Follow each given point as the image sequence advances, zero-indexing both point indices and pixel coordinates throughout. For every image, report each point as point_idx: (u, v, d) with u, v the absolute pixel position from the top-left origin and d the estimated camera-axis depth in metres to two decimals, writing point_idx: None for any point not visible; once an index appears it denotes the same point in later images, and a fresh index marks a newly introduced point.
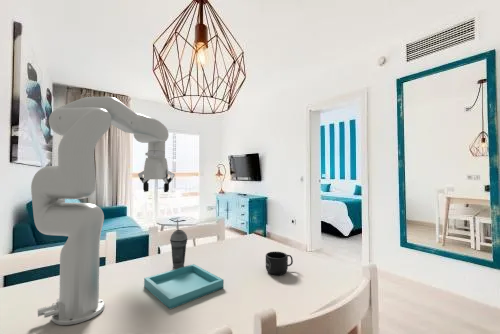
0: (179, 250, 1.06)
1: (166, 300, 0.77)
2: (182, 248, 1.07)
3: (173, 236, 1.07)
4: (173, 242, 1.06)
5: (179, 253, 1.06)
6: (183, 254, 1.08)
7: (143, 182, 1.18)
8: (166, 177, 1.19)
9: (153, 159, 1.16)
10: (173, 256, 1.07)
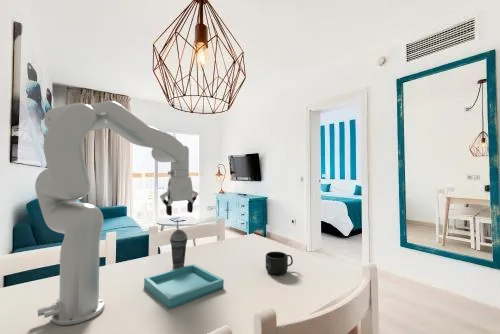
0: (179, 250, 1.06)
1: (166, 300, 0.77)
2: (182, 248, 1.07)
3: (173, 236, 1.07)
4: (173, 242, 1.06)
5: (179, 253, 1.06)
6: (183, 254, 1.08)
7: (169, 205, 1.05)
8: None
9: (182, 179, 1.07)
10: (173, 256, 1.07)
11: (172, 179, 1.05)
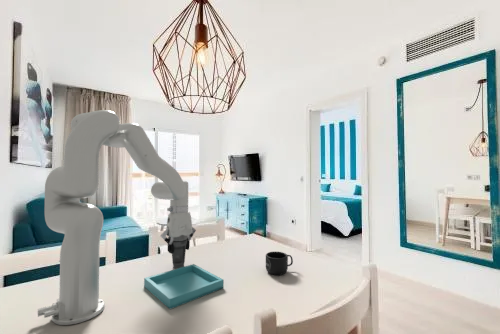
0: (179, 250, 1.06)
1: (166, 300, 0.77)
2: (182, 248, 1.07)
3: None
4: (173, 242, 1.06)
5: (179, 253, 1.06)
6: (183, 254, 1.08)
7: (170, 243, 1.05)
8: None
9: (181, 215, 1.07)
10: (173, 256, 1.07)
11: (171, 216, 1.05)
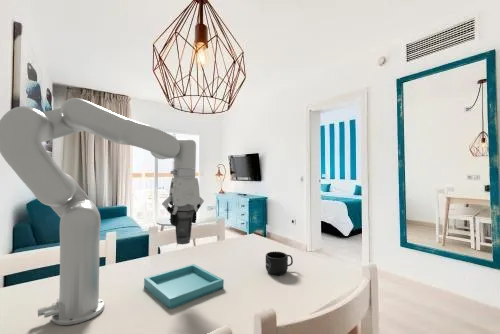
0: (184, 222, 0.88)
1: (166, 300, 0.77)
2: (188, 220, 0.88)
3: None
4: (177, 212, 0.87)
5: (184, 226, 0.88)
6: (189, 227, 0.89)
7: (174, 213, 0.86)
8: None
9: (188, 180, 0.89)
10: (177, 229, 0.88)
11: (176, 180, 0.86)
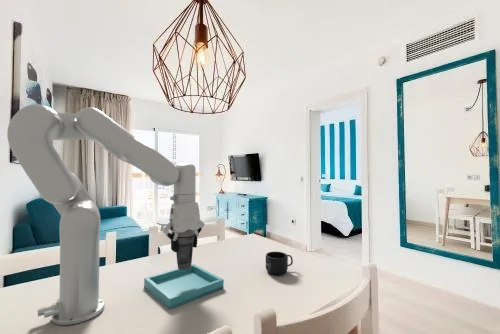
0: (185, 248, 0.87)
1: (166, 300, 0.77)
2: (188, 246, 0.88)
3: None
4: (178, 238, 0.87)
5: (185, 252, 0.87)
6: (190, 253, 0.88)
7: (174, 239, 0.86)
8: None
9: (188, 205, 0.88)
10: (178, 255, 0.88)
11: (175, 206, 0.86)
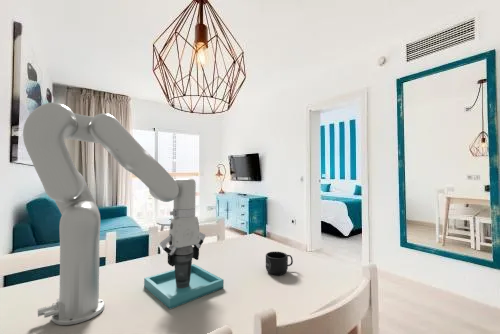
0: (183, 266, 0.87)
1: (166, 300, 0.77)
2: (187, 264, 0.87)
3: (176, 248, 0.87)
4: (176, 256, 0.86)
5: (183, 270, 0.87)
6: (188, 271, 0.88)
7: (171, 253, 0.85)
8: None
9: (187, 220, 0.88)
10: (176, 273, 0.87)
11: (175, 221, 0.86)
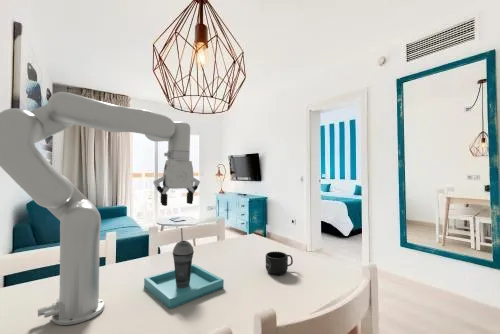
0: (183, 266, 0.87)
1: (166, 300, 0.77)
2: (187, 264, 0.87)
3: (176, 248, 0.87)
4: (176, 256, 0.86)
5: (183, 270, 0.87)
6: (188, 271, 0.88)
7: (164, 193, 0.86)
8: None
9: (181, 162, 0.89)
10: (176, 273, 0.87)
11: (169, 162, 0.87)
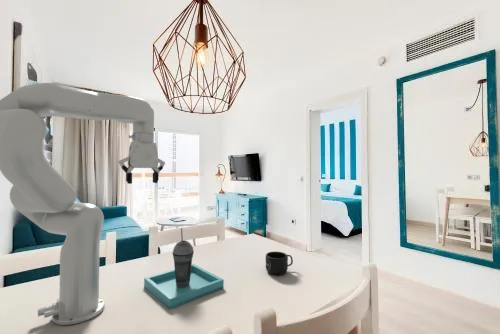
0: (183, 266, 0.87)
1: (166, 300, 0.77)
2: (187, 264, 0.87)
3: (176, 248, 0.87)
4: (176, 256, 0.86)
5: (183, 270, 0.87)
6: (188, 271, 0.88)
7: (128, 171, 0.93)
8: None
9: (145, 143, 0.96)
10: (176, 273, 0.87)
11: (133, 143, 0.93)
